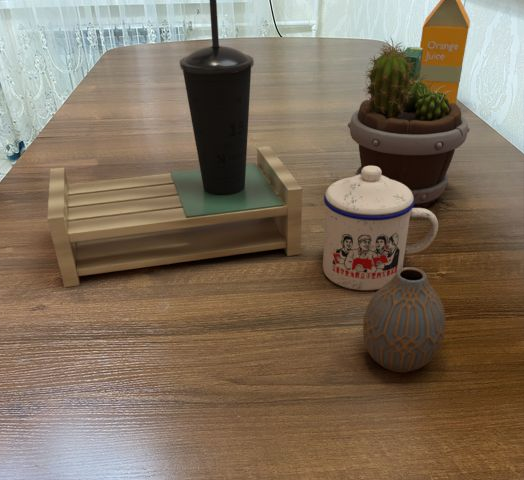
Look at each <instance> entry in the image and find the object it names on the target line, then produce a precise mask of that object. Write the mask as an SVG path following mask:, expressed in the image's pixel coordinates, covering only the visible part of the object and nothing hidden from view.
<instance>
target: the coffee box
mask: <svg viewBox="0 0 524 480" xmlns="http://www.w3.org/2000/svg"><path fill="white" fill-rule="evenodd" d="M403 51H404V52H403V53H406V54H404V56H403V58H404V57H405V55H406V56H407V55H408V56H407V57H406V58H404V59H407V60H408V59H411V60H408V62H409V64H410V63H413V62H415V63H413V65H412V64H410V65H412V66H413V67H414V68H415V70H412V71H413V72H412V71H410V72H409V79H410V80H411V78H410V76H414V75H415V76H416V77H417V76H418V77H419V78H420V70H421V61H422V53H423V48H420V46H419V47H418V46H416V47H415V46H407V47H405V49H404V50H403ZM403 53H402V54H403ZM409 54H410V55H409ZM408 57H409V58H408ZM407 60H406V61H407ZM410 67H411V66H410ZM413 67H411V68H413ZM417 69H418V70H417ZM418 72H419V73H418ZM413 73H414V74H413ZM415 73H416V74H415ZM410 74H411V75H410ZM417 74H419V75H417ZM415 76H414V77H412V78H413V81H415V80H414V79H415ZM419 78H417V81H419Z"/></svg>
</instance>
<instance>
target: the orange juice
mask: <svg viewBox="0 0 524 480" xmlns="http://www.w3.org/2000/svg"><path fill="white" fill-rule="evenodd" d="M470 24H471V19H470V17H469V16H468V13H467V11H466V9H465V7H464V4H463V2H462V0H439V1H438V3H437V4H436V5H435V7H434V8H433V9H432V11H431V12H430V13H429V14H428V15H427V17H425V20H424V22H423V25H422V30H421V37H420V44H419V48H423V53H422V61H421V70H420V77H421V78H422V77H423V76H424V75H426V76H424V77H423V78H426V79H423V80H421V82H423V83H425V84H426V85H427V86H429V87H430V91H431V88H432V92H433V91H434V90H435V89H436V88H437V89H439V88H440V87H441V88H440V89H439V90H437V92H438V93H444V92H445V93H446V92H447V91H449V92H447V93H446V96H445V97H446V98H447V99H448V98H449V96H450V98H449V100H448V101H449V103H455V104H456V105H457V99H458V92H459V88H460V82H461V77H462V73H463V72H462V71H463V65H464V59H465V54H466V47H467V45H468V35H469V29H470V27H471V26H470ZM421 78H420V79H421ZM428 81H429V82H428ZM433 82H434V83H433ZM432 83H433V84H432ZM431 84H432V85H431ZM430 85H431V86H430ZM432 86H433V87H432ZM442 86H443V87H442ZM434 87H435V88H434Z"/></svg>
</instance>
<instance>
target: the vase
mask: <svg viewBox="0 0 524 480" xmlns="http://www.w3.org/2000/svg"><path fill="white" fill-rule="evenodd" d="M362 321H363V323H362V337H363V341H364V342H363V343H364V346H365V348H366V350H367V352H368V354H369V356H370V357H371V358H372V359H373V360H374V361H375V363H377V364H378V365H380V366H381V367H382V368H384V369H386V370H388V371H391V372H395V373H410V372H413V371H416V370H418V369H422V368H423V367H425V366H426V365H428V364H429V363H430V362H431V361H432V360H433V359H434V358H435V356H436V355H437V353H438V352H439V350H440V348H441V346H442V343H443V340H444V339H445V338H444V337H445V333H446V326H447V325H446V324H447V323H446V322H447V321H446V313H445V309H444V305H443V302H442V300H441V299H440V297H439V295H438V293H437V292H436V291H435V289H434V288H433V287H432V285H431V284H430V282H429V279H428V275H427V273H426V272H425V271H424V270H423V269H421V268H418V267H412V266H406V267H403V268H401V269H399V270H398V271H397V272H396V274H395V276H394V277H393V278H392V279H391V280H390V281H389V282H388V283H386V284H385V285H384V286H383V287H382V288H380V289H377V290H376V292H375V293H374V294H373V295H372V297H371V298H370V301H369V302H368V304H367V306H366V309H365V312H364V316H363V320H362Z"/></svg>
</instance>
